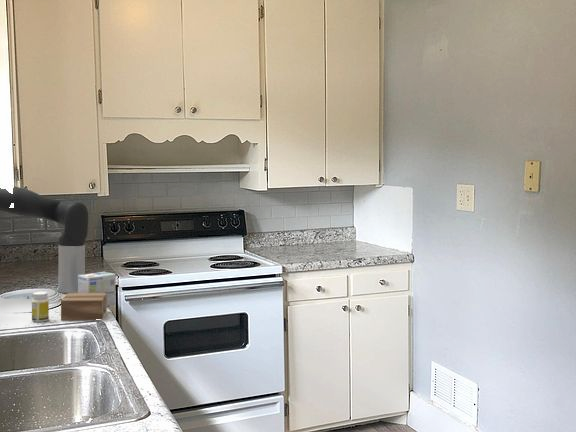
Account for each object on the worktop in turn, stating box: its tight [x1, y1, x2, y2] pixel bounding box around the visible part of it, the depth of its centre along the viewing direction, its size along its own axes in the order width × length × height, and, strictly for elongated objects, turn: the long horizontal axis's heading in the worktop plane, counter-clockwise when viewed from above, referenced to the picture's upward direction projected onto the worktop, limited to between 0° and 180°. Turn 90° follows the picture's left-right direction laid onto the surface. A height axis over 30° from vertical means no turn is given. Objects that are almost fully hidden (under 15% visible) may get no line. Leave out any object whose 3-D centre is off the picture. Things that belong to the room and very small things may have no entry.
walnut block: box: [60, 293, 107, 321], centre depth 204 cm, size 12×12×6 cm
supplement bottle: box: [31, 291, 50, 323], centre depth 196 cm, size 5×5×8 cm
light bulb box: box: [78, 271, 116, 307], centre depth 218 cm, size 11×7×11 cm, turn 141°
